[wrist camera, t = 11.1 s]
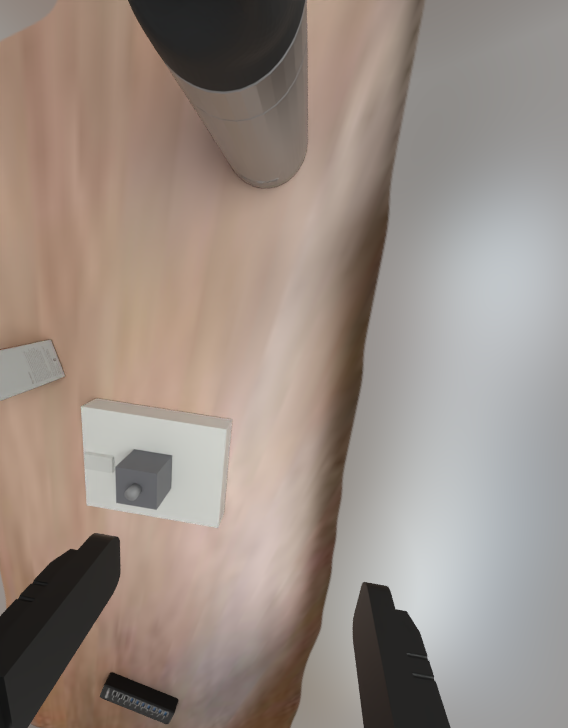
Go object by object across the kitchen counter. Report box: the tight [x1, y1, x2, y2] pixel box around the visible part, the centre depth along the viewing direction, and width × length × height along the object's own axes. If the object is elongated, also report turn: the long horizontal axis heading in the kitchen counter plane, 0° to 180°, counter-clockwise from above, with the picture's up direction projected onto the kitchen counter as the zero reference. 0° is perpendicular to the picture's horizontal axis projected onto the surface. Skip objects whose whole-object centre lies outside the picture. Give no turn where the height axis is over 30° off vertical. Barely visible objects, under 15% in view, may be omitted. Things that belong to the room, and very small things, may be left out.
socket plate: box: [81, 398, 232, 528], centre depth 42 cm, size 16×20×4 cm
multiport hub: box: [100, 672, 178, 724], centre depth 58 cm, size 4×14×2 cm, turn 66°
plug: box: [115, 449, 172, 510], centre depth 40 cm, size 5×5×8 cm
